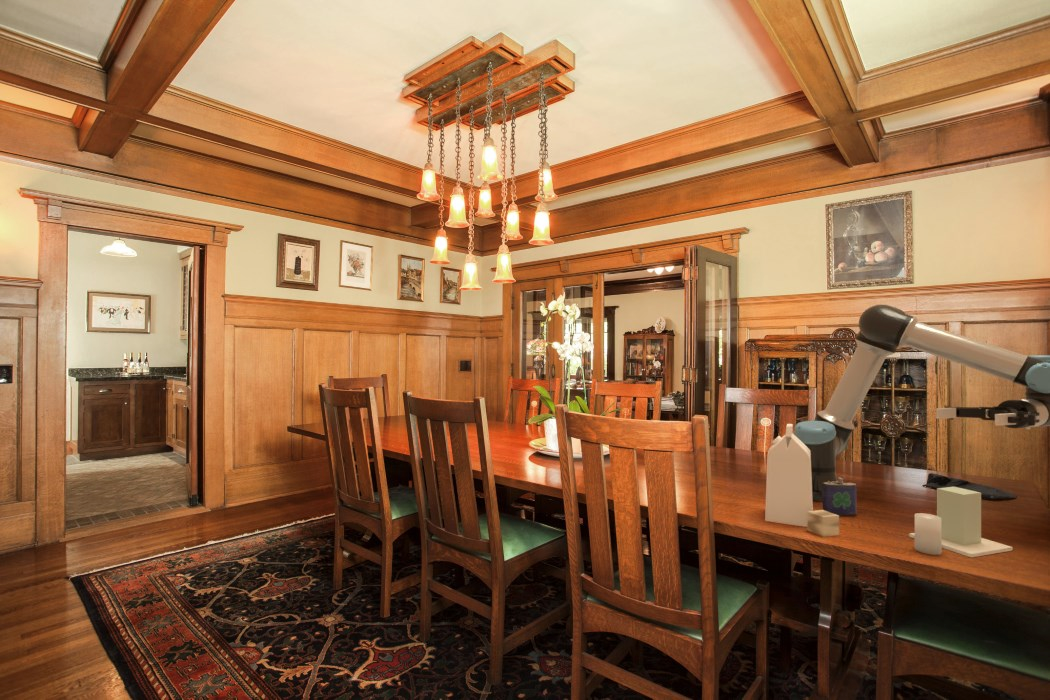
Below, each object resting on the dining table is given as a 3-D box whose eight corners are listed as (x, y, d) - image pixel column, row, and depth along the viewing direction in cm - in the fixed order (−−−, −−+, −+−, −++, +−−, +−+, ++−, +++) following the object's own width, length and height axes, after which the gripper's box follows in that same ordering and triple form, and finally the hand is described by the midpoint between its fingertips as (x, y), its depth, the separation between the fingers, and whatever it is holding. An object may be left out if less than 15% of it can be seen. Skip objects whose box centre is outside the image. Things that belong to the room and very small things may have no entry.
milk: (812, 527, 138) (812, 429, 139) (765, 520, 144) (765, 426, 144) (813, 515, 149) (813, 424, 149) (768, 509, 155) (768, 421, 155)
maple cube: (807, 530, 136) (807, 511, 136) (822, 528, 138) (822, 509, 138) (823, 537, 132) (823, 517, 132) (839, 535, 133) (839, 515, 133)
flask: (853, 513, 151) (853, 476, 151) (859, 516, 148) (859, 478, 148) (820, 513, 151) (820, 476, 151) (826, 516, 148) (825, 478, 148)
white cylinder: (909, 548, 124) (909, 514, 124) (924, 545, 126) (924, 512, 126) (931, 555, 119) (931, 520, 120) (946, 553, 121) (946, 518, 121)
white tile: (909, 536, 132) (909, 533, 132) (948, 530, 136) (948, 527, 136) (971, 557, 118) (971, 554, 118) (1012, 550, 123) (1012, 547, 123)
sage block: (936, 537, 129) (936, 488, 129) (953, 534, 131) (953, 486, 131) (963, 545, 124) (963, 494, 124) (981, 542, 125) (981, 492, 125)
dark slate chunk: (991, 504, 162) (991, 489, 162) (917, 487, 182) (917, 473, 183) (1022, 499, 167) (1022, 484, 167) (947, 483, 187) (947, 470, 188)
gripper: (1082, 434, 128) (1025, 439, 122) (968, 421, 152) (916, 424, 146) (1082, 404, 128) (1024, 406, 122) (968, 395, 152) (916, 397, 146)
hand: (965, 416), depth 134 cm, fingers open, 13 cm apart
